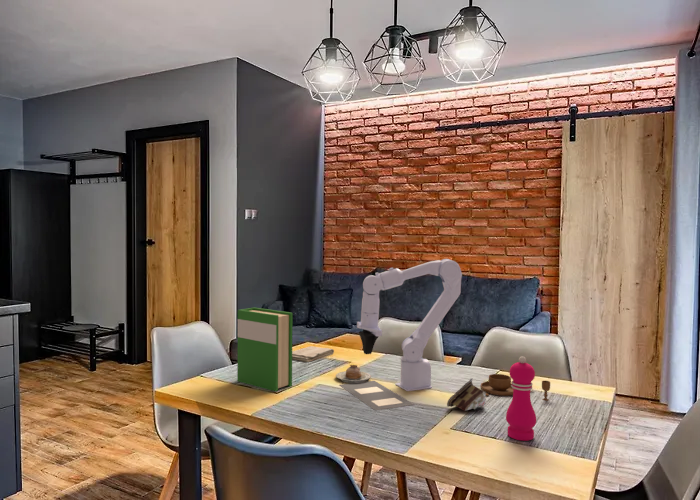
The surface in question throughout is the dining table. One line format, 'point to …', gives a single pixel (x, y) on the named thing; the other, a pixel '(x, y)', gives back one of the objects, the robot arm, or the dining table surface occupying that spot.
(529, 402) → the pepper mill
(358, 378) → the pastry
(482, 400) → the chocolate cake
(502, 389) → the place setting
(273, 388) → the hardback book
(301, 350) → the washcloth
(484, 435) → the dining table surface
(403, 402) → the label panel
